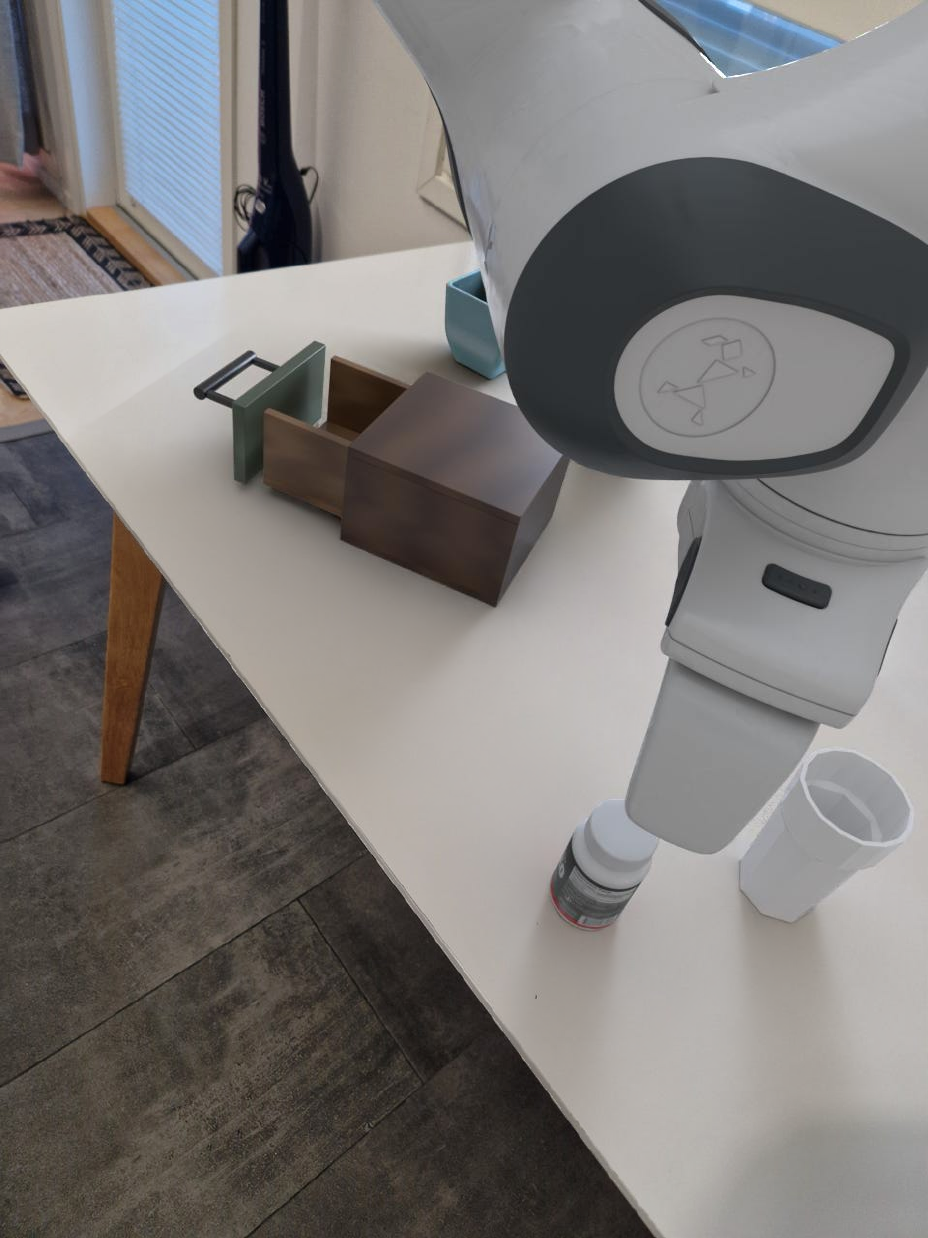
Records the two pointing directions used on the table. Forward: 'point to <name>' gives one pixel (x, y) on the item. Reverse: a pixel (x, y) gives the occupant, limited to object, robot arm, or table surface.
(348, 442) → the drawer
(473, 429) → the cabinet
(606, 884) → the pill bottle
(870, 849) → the cup
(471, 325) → the flower pot
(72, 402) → the table surface
